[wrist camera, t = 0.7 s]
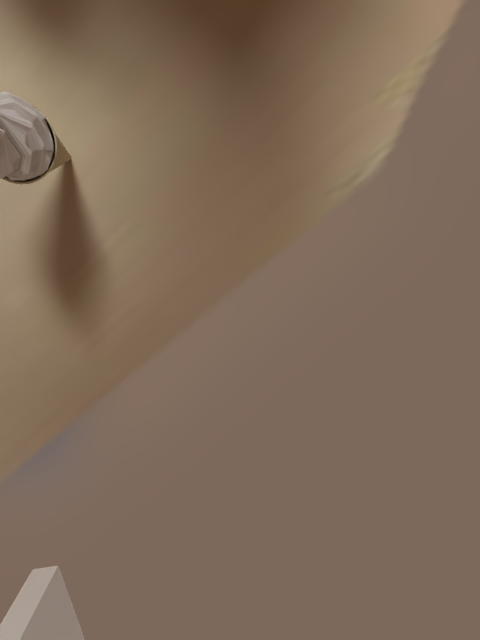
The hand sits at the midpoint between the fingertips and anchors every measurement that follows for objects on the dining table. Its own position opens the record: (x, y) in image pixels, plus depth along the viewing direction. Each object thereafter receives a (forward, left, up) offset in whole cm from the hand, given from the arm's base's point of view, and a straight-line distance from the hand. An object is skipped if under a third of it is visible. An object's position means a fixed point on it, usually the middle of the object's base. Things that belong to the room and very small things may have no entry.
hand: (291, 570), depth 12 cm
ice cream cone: (-16, -14, -27) cm, 35 cm away
